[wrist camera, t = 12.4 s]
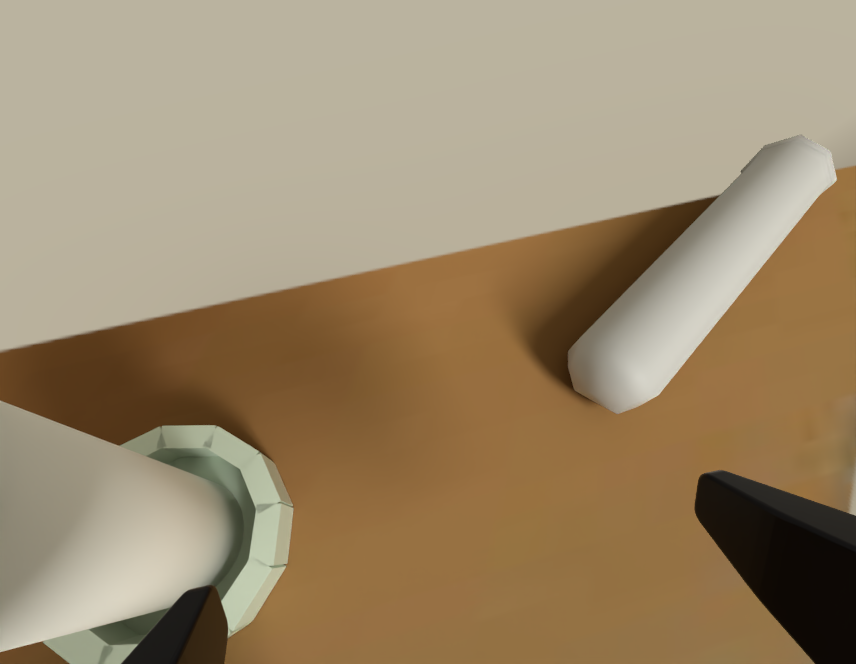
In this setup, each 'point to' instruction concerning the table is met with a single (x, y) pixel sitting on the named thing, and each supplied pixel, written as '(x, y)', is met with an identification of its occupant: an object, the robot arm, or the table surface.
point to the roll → (99, 531)
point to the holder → (260, 551)
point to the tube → (698, 277)
